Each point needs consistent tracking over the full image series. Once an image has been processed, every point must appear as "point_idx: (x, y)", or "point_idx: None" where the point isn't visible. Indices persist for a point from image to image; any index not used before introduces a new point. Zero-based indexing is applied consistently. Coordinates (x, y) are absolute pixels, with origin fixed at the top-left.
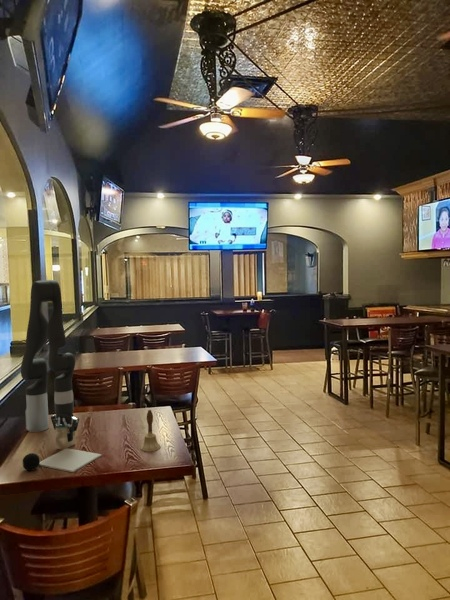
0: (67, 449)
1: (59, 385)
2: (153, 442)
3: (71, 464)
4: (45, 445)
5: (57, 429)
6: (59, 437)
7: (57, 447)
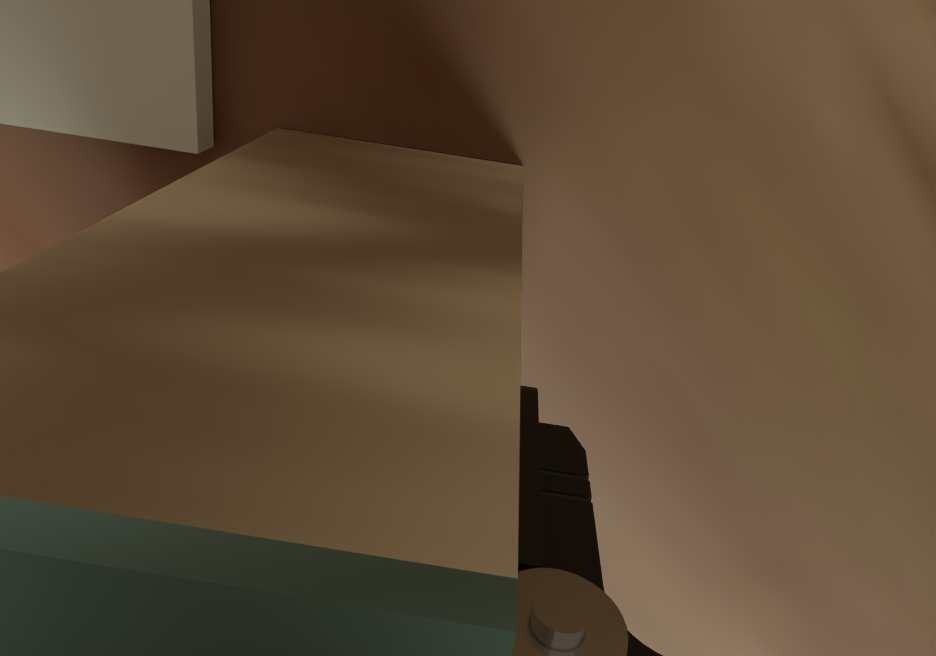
0: (102, 77)
1: None
2: None
3: None
4: (932, 284)
5: (313, 483)
6: (313, 244)
7: (484, 166)
